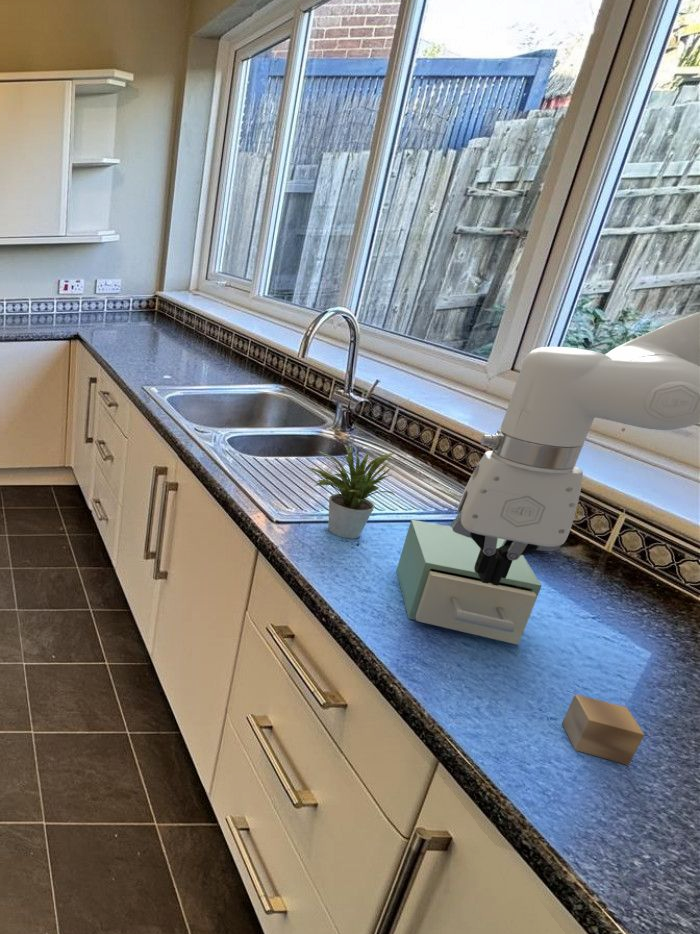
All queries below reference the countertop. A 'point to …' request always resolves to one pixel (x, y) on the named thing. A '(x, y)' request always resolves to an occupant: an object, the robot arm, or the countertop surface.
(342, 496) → the house plant
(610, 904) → the countertop surface
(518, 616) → the beige cabinet drawer
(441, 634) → the countertop surface
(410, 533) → the green drawer box
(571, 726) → the block
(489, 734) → the countertop surface
